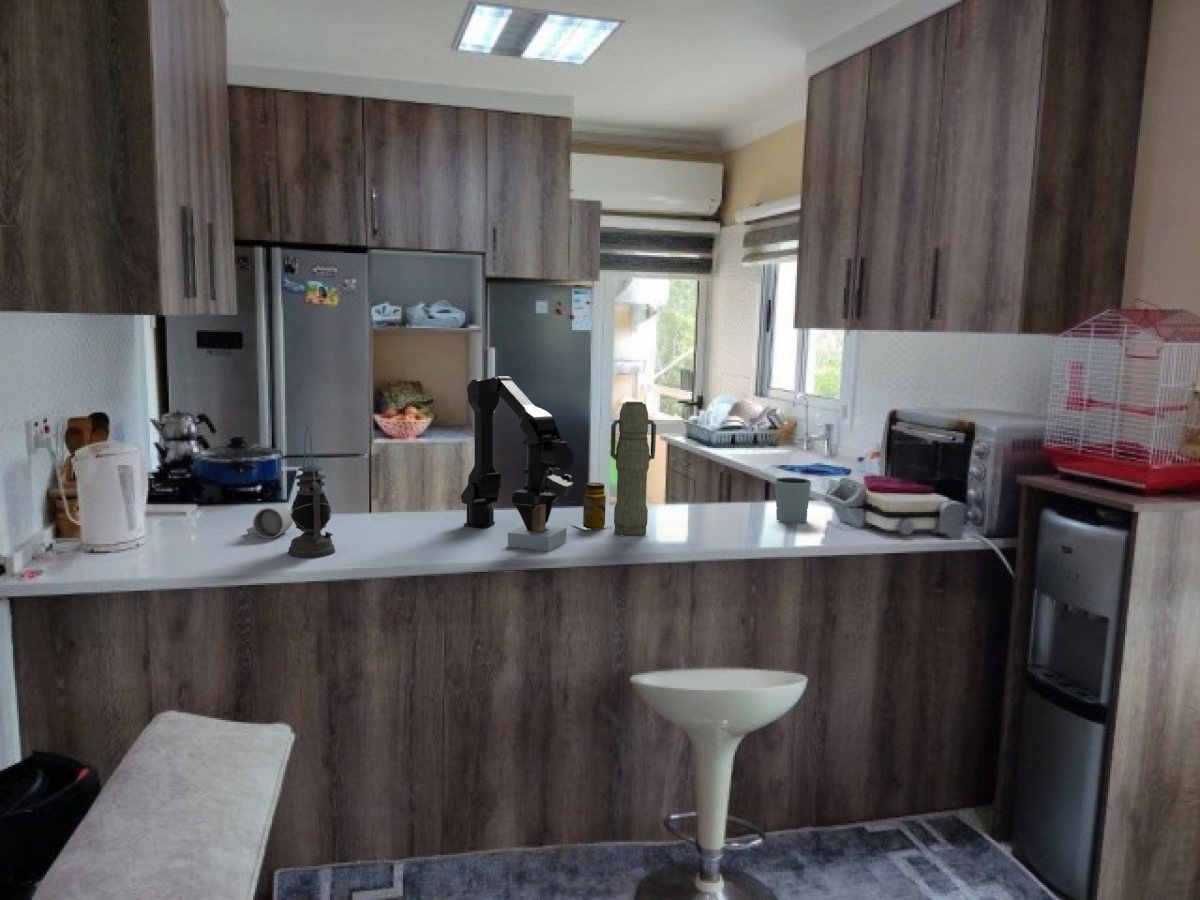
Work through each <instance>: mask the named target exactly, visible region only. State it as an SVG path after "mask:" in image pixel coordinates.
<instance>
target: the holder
mask: <svg viewBox="0 0 1200 900" xmlns="http://www.w3.org/2000/svg"><path fill="white" fill-rule="evenodd" d="M565 541H566V542H567V527H559V526H551V525H550V526H549V525H546V531H545V532H543V533H536V532H530V530H527V528H526V526H525V524H523V525H521V526H519V527H517V528H515V529H513V530H510V531H508V532H507V546H508V545H509V546H515V547H514V548H517V547H522V548H521V549H525V548H528V549H527V550H533V549H534V551H543V552H549V551H551V550H554V549H555V548H558V547H559V546H561V545H562V543H563V544H565V543H566V542H565ZM560 544H561V545H560ZM509 546H508V547H509Z"/></svg>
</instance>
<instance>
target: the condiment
mask: <svg viewBox="0 0 1200 900" xmlns="http://www.w3.org/2000/svg"><path fill="white" fill-rule="evenodd" d="M606 500H607V494H606V493H605V484H604V483H602V482H587V483H586V484H585V492H584V493H583V510H582V511H583V512H582V515H583V516H582V518H583V519H582V524H584V525H583V526H584V527H586V528H590V529H587V531H593V530H592V529H594V530H601V529H600V528H604V527H606V529H610V528H611V526H609V525H608V526H607V525H606V503H607V501H606ZM607 527H608V528H607Z"/></svg>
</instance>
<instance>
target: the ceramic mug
mask: <svg viewBox="0 0 1200 900" xmlns="http://www.w3.org/2000/svg"><path fill="white" fill-rule="evenodd" d="M290 513H291V514H292V512H291V509H289V508H288V507H287V506H284V505H278V504H277V505H272V506H269V507H264V508H262V509H260V510H259V511H258V512H257V513H255V515H254V518H253V519H252V526H251V527H249V528H247V529H246V532H247V534H248V536H250V535H252V534H255V533H256V534H258V536H259V537H261V538H264V539H269V540H270V539H275V538H276V537H278V536H280V535H282V534H284V533H285V532H287V531H288V530H289V529H290V528H291V527H292V525H293V523H294V521H293V520H292V518H291V515H290Z"/></svg>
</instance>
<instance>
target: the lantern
mask: <svg viewBox="0 0 1200 900" xmlns="http://www.w3.org/2000/svg"><path fill="white" fill-rule="evenodd" d="M307 432H308V435H309V439H310V440H309V441H310V453H311V455H308V456H307V457H308V458H307V459H308V465H305V463H306V453H307V452H306V451H307V450H306V447H307V444H306V443H307V441H306V440H307ZM303 448H304V451H303V453H304V454H303V461H302V462H303V465H302V466H301V467H299V468H298V469H297V471H298V472H302V473H301V474H298V475H296V476H295V477H294V479H296V480H299V481H297V482H296V487H299V489H298V490H296V496H295V498H294V500H293V502H292V504H291V507H290V511H291V513H292V514H291V513H290V515H291V518H292V520H293V523H294V525H295V528H296V529H297V530H300V531H301V532H302V533H301V535H298V536H295V537H294V538H292V540H291V542H290V546H289V547H288V551H287V555H288V556H290V557H293V558H298V559H314V558H315V559H317V558H324V557H327V556H331V555H333V554H335V553H336V549H335V545H334V544H333V541H332V536H334V534H333V533H331V532H329V531H325V532H324V534H322V533H321V531H322V530H323V529H325V528H327V524H328V523H329V521H330V520H331V518H332V510H331V509H332V508H331V505H330V502H329V500H328V498H327V497H326V495H325V490H324V489H323V488H322V487H324V486H325V485H326V483H325V481H323V479H325V478H326V477H327V476H326V475H324V474H322V473H319V472H322V471H324V468H322V467H320V466H315V465H314V454H313V453H314V452H313V442H312V435H311V430H310V426H309V425H307V426H306V429H305V432H304V446H303ZM310 458H311V465H310Z"/></svg>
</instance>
